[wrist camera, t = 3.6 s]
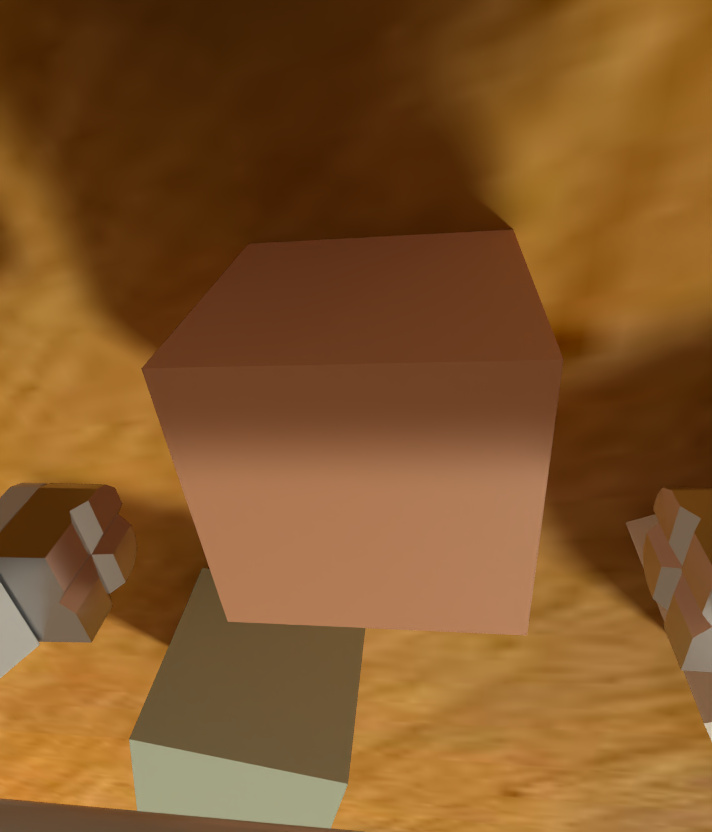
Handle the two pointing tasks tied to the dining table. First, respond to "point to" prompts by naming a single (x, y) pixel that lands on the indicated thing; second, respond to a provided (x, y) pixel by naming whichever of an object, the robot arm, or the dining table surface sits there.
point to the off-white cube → (705, 686)
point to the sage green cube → (248, 719)
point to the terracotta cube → (367, 431)
